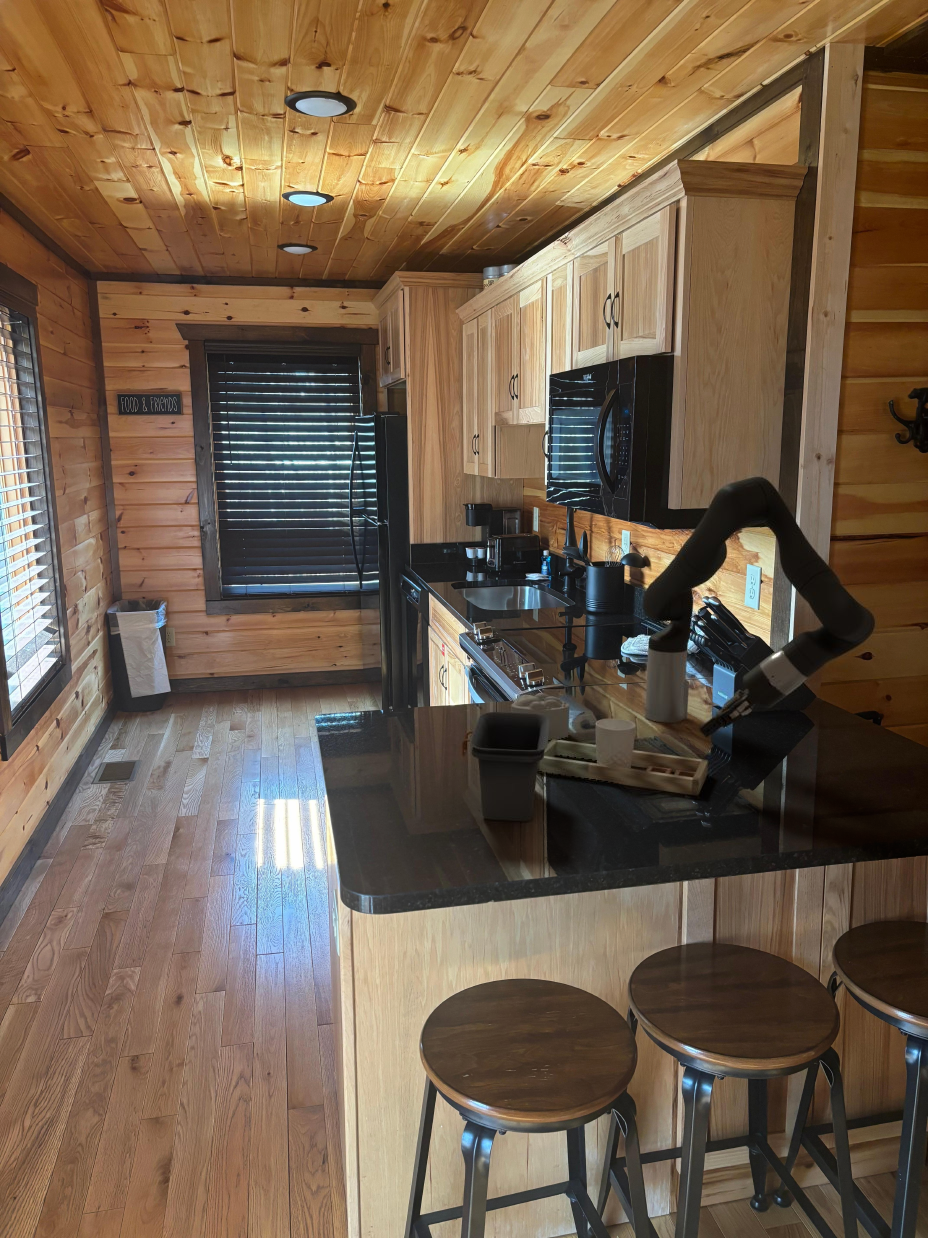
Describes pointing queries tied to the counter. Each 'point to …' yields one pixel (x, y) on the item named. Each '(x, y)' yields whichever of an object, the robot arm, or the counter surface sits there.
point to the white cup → (615, 742)
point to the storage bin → (508, 761)
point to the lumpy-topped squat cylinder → (546, 712)
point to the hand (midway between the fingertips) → (703, 732)
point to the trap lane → (655, 777)
